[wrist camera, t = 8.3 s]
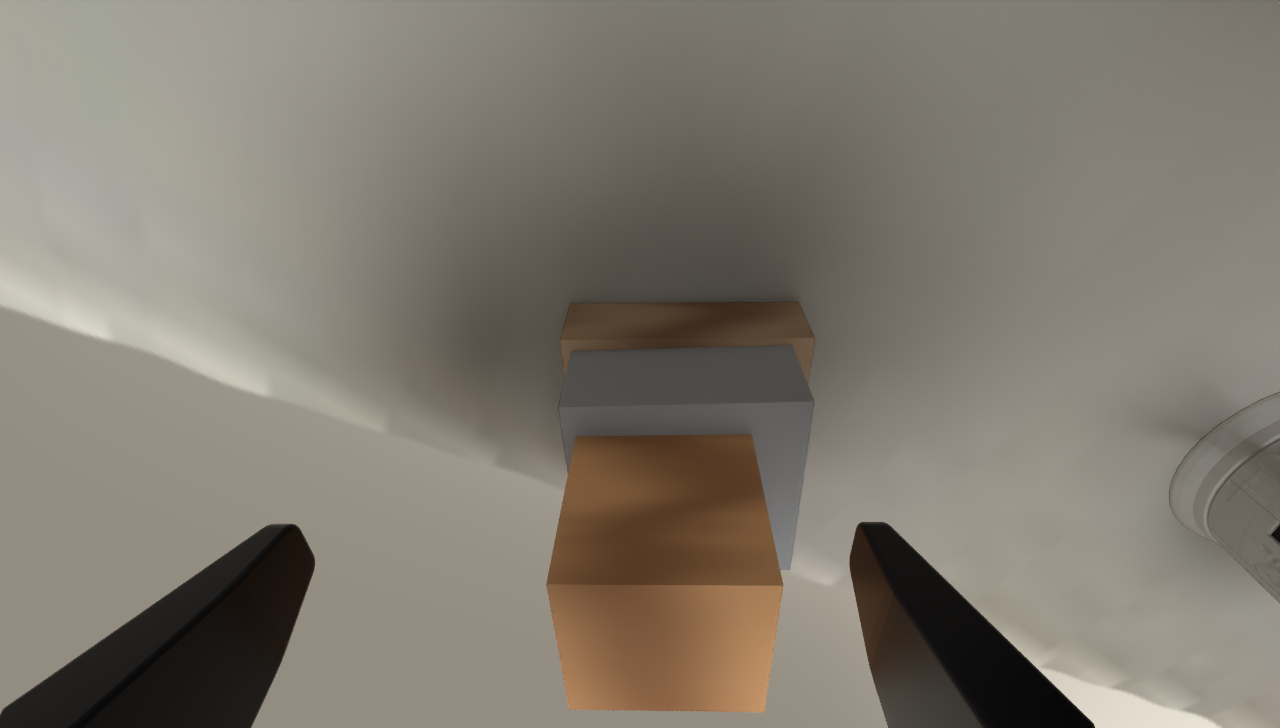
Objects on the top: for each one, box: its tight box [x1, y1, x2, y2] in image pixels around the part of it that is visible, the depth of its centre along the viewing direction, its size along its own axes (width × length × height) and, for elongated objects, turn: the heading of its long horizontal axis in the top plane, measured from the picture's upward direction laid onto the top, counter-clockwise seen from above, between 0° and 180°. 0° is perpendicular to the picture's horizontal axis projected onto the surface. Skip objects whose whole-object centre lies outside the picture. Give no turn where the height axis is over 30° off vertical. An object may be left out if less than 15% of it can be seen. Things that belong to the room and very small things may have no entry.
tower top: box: [558, 345, 814, 570], centre depth 19 cm, size 7×7×3 cm
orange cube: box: [547, 435, 783, 712], centre depth 16 cm, size 5×5×5 cm
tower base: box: [560, 302, 815, 384], centre depth 22 cm, size 8×8×3 cm
